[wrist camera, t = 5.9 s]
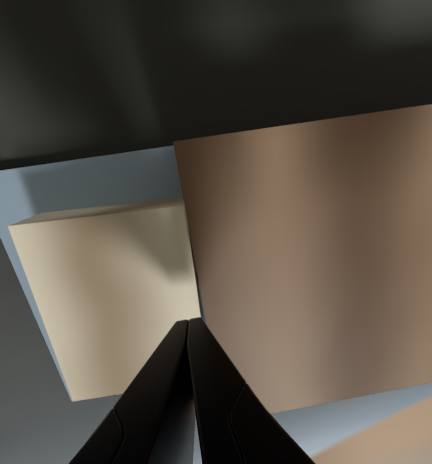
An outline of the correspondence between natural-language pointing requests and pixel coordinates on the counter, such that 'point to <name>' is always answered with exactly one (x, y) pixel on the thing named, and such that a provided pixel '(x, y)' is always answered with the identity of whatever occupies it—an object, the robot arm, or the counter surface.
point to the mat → (82, 196)
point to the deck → (316, 253)
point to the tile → (109, 286)
